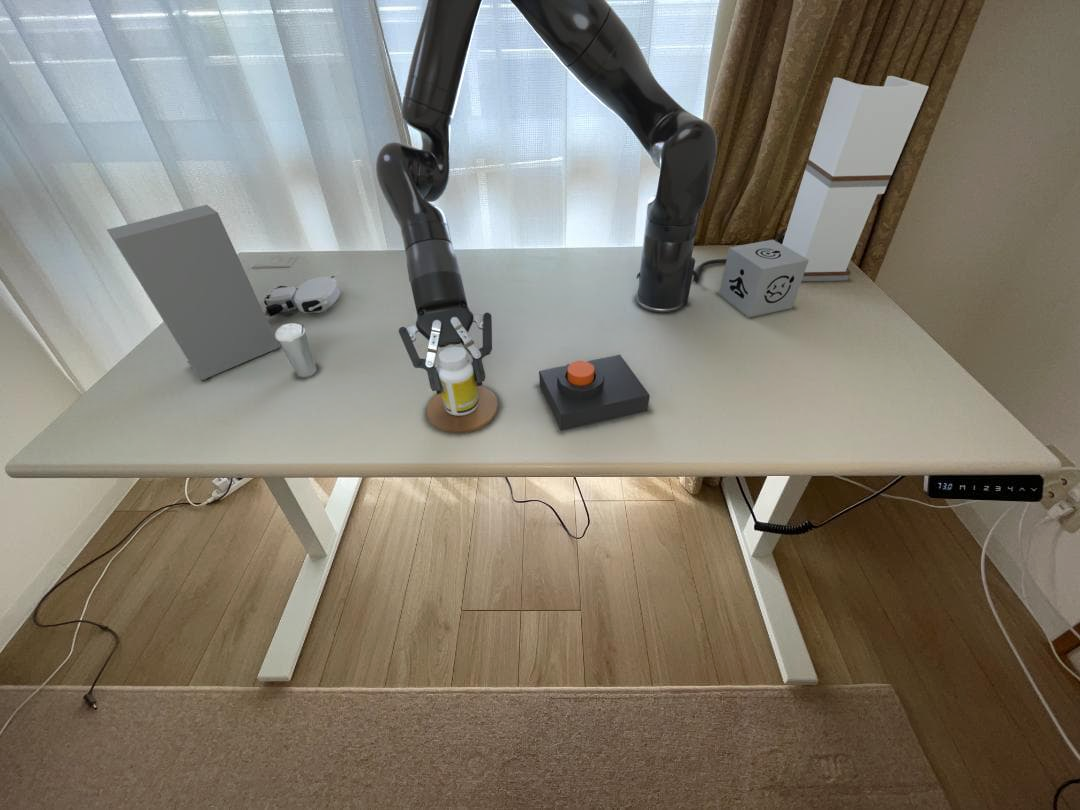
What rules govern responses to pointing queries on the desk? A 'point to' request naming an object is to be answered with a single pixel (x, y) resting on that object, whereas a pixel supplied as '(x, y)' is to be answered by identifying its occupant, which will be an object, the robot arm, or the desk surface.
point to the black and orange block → (594, 393)
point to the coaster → (464, 422)
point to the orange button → (580, 373)
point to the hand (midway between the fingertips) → (459, 388)
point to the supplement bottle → (457, 381)
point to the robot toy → (303, 297)
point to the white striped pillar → (849, 170)
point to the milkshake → (296, 348)
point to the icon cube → (762, 277)
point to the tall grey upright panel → (197, 287)
